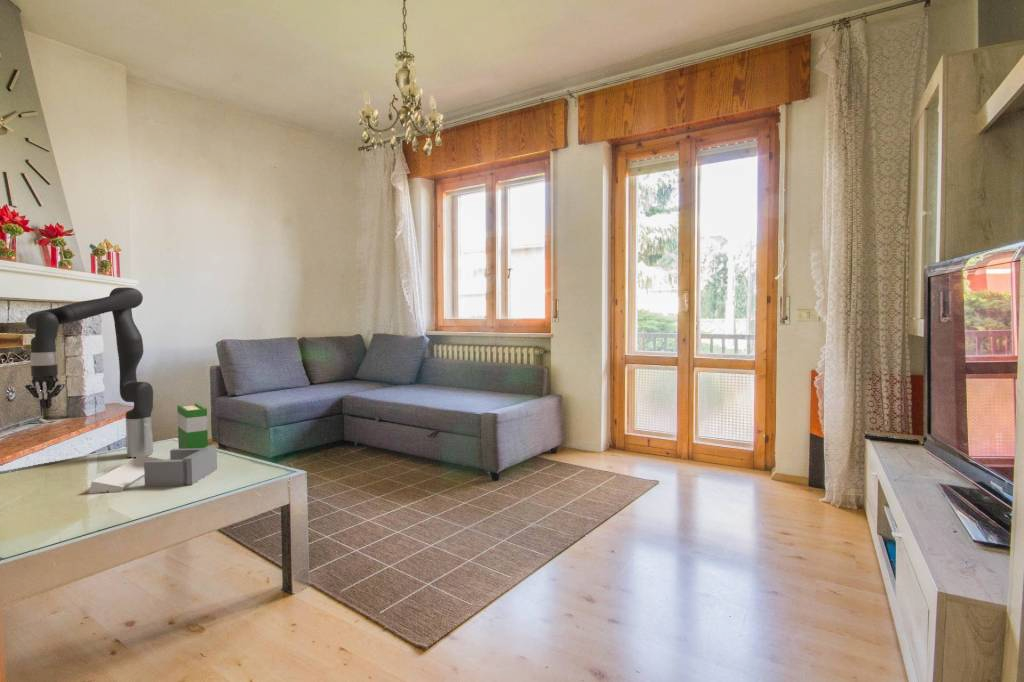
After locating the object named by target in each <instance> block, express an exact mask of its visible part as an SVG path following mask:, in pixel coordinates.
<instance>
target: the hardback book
mask: <svg viewBox="0 0 1024 682" xmlns="http://www.w3.org/2000/svg"><path fill="white" fill-rule="evenodd" d="M176 408H177V410H176V411H177V436H178V439H177V440H178V449H187V448H205V447H207V446H209V443H208V442H209V441H208V440H209V438H208V437H209V436H208V409H207V408H206V407H204V406H203V405H200V404H199V403H194V404H193V405H186V406H182V405H181V404H178V405H177V407H176Z"/></svg>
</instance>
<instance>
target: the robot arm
mask: <svg viewBox="0 0 1024 682" xmlns="http://www.w3.org/2000/svg"><path fill="white" fill-rule="evenodd" d="M143 299H144V296H143V294H142V292H141V291H140V290H138V289H136V288H134V287H126V286H124V287H122V286H121V287H115V288H113V289H112V290H111V291H110V293H109V296H105V297H100V298H99V297H98V298H94V299H90V300H84V301H83V300H82V301H78V302H72V303H69V304H65V305H62V306H60V307H59V306H58V307H54V308H49V309H44V310H38V311H35V312H32V313H30V314H29V315H28V316H27V317H26V319H25V324H26V326H27V327H28V328H30V329H32V330H34V331H35V333H34V337H32V338H31V339H30V375H31V377H32V379H31V382H30V383H29V384H26V385H25V386H24V387H25V389H26V390H27V391H28V392H29V393H30V394H31V395H32V397H33V398H37V399H39V400H40V408H41V409H42V410H49V409H51V407H52V403H53V402H52V398H56V397H57V396H58V395H59V394H60V393H61V392H62V390H64V388H65V386H66V385H65V383H61V382H60V381H59V378H58V374H59V373H58V372H59V370H58V368H59V367H58V356H57V345H56V340H57V336H58V331H59V327H60V326H59V325H62V324H63V325H64V324H71V323H75V322H78V321H82V320H85V319H88V318H92V317H95V316H98V315H103V314H106V313H110V312H111V313H112V317H113V322H114V330H115V339H116V340H115V341H116V349H117V350H116V351H117V354H118V355H117V357H118V369H119V394H120V397H121V399H122V401H124V402H125V403H126V402H127V403H133V408H132V409H129V410H127V411H126V412H125V436H126V439H125V440H126V457H127V458H129V457H131V458H133V459H135V458H134V457H136V458H137V457H138V456H140V455H142V456H147V457H149V456H150V455H152V454H153V453H154V441H153V439H154V438H153V437H154V436H153V431H152V412H153V408H154V389H153V386H152V385H151V383H150V382H146V381H138V380H137V368H138V365H139V363H140V362H141V360H142V358H143V354H144V344H143V343H144V342H143V341H144V340H143V337H142V334H141V332H140V330H139V329H138V327H137V325H136V324H135V321H134V317H133V311H132V309H136V308H137V307H139V306H140V305H141V304H142V302H143Z"/></svg>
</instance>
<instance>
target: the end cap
mask: <svg viewBox="0 0 1024 682" xmlns="http://www.w3.org/2000/svg"><path fill="white" fill-rule="evenodd" d="M217 450H218V449H217V445H215V444H214V445H213V444H212V445H208V446H207V447H205V448H187V449H179V448H172V449H170V450H169V455H170V456H169V457H170V459H163V460H148V461H146V462H144V475H145V477H144V487H169V486H170V487H171V486H175V485H177V486H192V485H191V484H193V485H194V483H195V482H196V483H198V482H199V481H198V480H200V479H201V478H203V477H204V478H206V477H207V476H206V475H208V474H209V475H211V474H212V473H214V472H215V471H214V470H216V469H217V470H218V456H217V455H218V453H217V452H218V451H217ZM217 470H216V471H217ZM213 471H214V472H213ZM211 472H212V473H211ZM210 473H211V474H210ZM209 475H208V476H209ZM205 476H206V477H205ZM204 478H203V479H204ZM201 480H202V479H201ZM201 480H200V481H201ZM197 481H198V482H197ZM196 483H195V484H196ZM175 487H176V486H175Z"/></svg>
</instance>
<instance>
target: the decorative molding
mask: <svg viewBox="0 0 1024 682" xmlns="http://www.w3.org/2000/svg"><path fill="white" fill-rule="evenodd" d="M148 460H164V459H163V458H158V457H157V458H156V457H152V456H142V455H140V456H138V457H136V458H133V459H131V460H130V461H128V462H126V463H123V464H122V465H120V466H118V467H116V468H114V469H113V470H110V471H108V472H107V473H105V474H104V475H101V476H99V477H97V478H96V479H94V480H92V481H91V483H90V487H89V491H88V494H99V493H107V492H108V493H116V492H117V493H118V492H119V493H121V492H123V491H124V490H126V489H127V488H129V487H130V486H132V485H133V484H135V483H136V482H138V481H140V480H142V479H143V478H145V475H144V462H146V461H148ZM141 478H142V479H141ZM120 491H121V492H120Z"/></svg>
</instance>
